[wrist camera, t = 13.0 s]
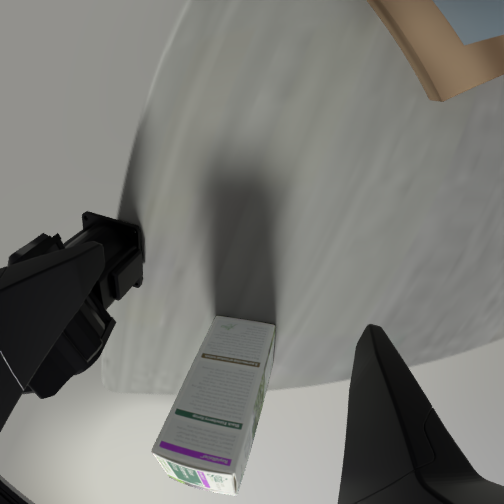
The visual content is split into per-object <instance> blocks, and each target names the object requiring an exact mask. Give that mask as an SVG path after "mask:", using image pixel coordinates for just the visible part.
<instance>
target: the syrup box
mask: <svg viewBox="0 0 504 504" xmlns="http://www.w3.org/2000/svg"><path fill="white" fill-rule="evenodd" d="M274 339H275V325H272V324H267V323H262V322H257V321H250V320H244V319H237V318H231V317H224V316H218V315H217V316H216V317H215V319H214V321H213V323H212V325H211V327H210V329H209V331H208V333H207V335H206V337H205V339H204V341H203V343H202V345H201V347H200V349H199V351H198V353H197V355H196V357H195V359H194V362H193V364H192V366H191V368H190V370H189V372H188V374H187V376H186V378H185V381H184V383H183V385H182V387H181V389H180V391H179V393H178V395H177V398H176V400H175V402H174V404H173V406H172V408H171V411H170V413H169V415H168V417H167V419H166V421H165V423H164V425H163V428H162V430H161V432H160V434H159V436H158V438H157V440H156V442H155V444H154V446H153V448H152V453H153V455H154V456H155V458H156V459H157V460H158V462H159V463H160V465H161V466H162V467H163V469H164V470H165V471H166V473H167V474H168V476H169V477H170V478H172V479H174V480H176V481H179V482H181V483H184V484H186V485H189V486H192V487H195V488H198V489H202V490H206V491H211V492H215V493H221V494H228V495H233V496H236V495H237V494H238V491H239V487H240V484H241V481H242V478H243V475H244V471H245V468H246V465H247V461H248V458H249V454H250V451H251V447H252V444H253V440H254V436H255V432H256V428H257V425H258V421H259V417H260V413H261V410H262V406H263V402H264V398H265V394H266V391H267V387H268V383H269V378H270V374H271V370H272V366H273V356H274Z"/></svg>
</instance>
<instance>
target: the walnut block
mask: <svg viewBox="0 0 504 504" xmlns="http://www.w3.org/2000/svg"><path fill="white" fill-rule="evenodd" d="M367 2H368V3H369V4H370V5H371V7H372V8H373V9H374V11H375V12H376V13H377V15H378V16H379V17H380V19H381V20H382V22H383V23H384V24H385V26H386V27H387V29H388V30H389V32H390V33H391V35H392V36H393V38H394V39H395V41H396V42H397V44H398V45H399V47H400V48H401V50H402V52H403V53H404V55H405V56H406V58H407V60H408V61H409V63H410V65H411V66H412V68H413V70H414V72H415V73H416V75H417V77H418V79H419V81H420V82H421V84H422V86H423V88H424V90H425V92H426V94H427V96H428V97H429V99H430V100H433V101H441V102H443V101H445V100H447V99H449V98H452V97H454V96H456V95H458V94H460V93H463V92H465V91H467V90H469V89H471V88H474V87H476V86H478V85H480V84H483V83H485V82H487V81H489V80H492V79H494V78H496V77H499V76H501V75H503V74H504V35H500V36H496V37H493V38H489V39H485V40H482V41H478V42H475V43H471V44H468V45H465V46H464V44H463V43H462V41H461V40H460V38H459V37H458V35H457V34H456V32H455V31H454V29H453V28H452V26H451V25H450V23H449V22H448V21H447V19H446V18H445V16H444V15H443V14H442V12H441V11H440V10H439V8H438V7H437V6H436V4H435V3H434V2H433V0H367Z"/></svg>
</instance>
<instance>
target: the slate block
mask: <svg viewBox="0 0 504 504" xmlns="http://www.w3.org/2000/svg"><path fill="white" fill-rule="evenodd" d="M433 2H434V3H435V4H436V6H437V7H438V8H439V10H440V11H441V12H442V14H443V15H444V16H445V18H446V19H447V21H448V22H449V23H450V25H451V26H452V28H453V29H454V31H455V32H456V34H457V35H458V37H459V38H460V40H461V41H462V43H463V44H464V46H465V45H468V44H471V43H475V42H478V41H482V40H485V39H489V38H493V37H496V36H500V35H504V0H433Z"/></svg>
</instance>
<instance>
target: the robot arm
mask: <svg viewBox="0 0 504 504" xmlns="http://www.w3.org/2000/svg"><path fill="white" fill-rule="evenodd" d="M82 221H83V230H82V231H80V232H79V233H77V234H76V235H75V236H73V237H72V238H70V239H69V240H68V241H66V242H65V243H64V244H63V243H62V241H61V237H60V235H59V234H58V233H57V234H56V235H55V236H53V237H51V236H48V235H46V234H44V233H43V234H41V235H40V236H38V237H37V238H36V239H34V240H33V241H31V242H30V243H28V244H27V245H25V246H24V247H22V248H20V249H19V250H18V251H16V252H15V253H13V254H12V255H11V256H10V257H9V261H8V267H3V268H0V432H1V430H2V428H3V426H4V425H5V423H6V421H7V419H8V417H9V416H10V414H11V412H12V410H13V408H14V407H15V405H16V403H17V402H18V400H19V398H20V397H21V395H22V394H29V393H35V394H37V396H38V397H39V398H41V399H44V398H47V397H51V396H53V395H55V394H56V393H57V392H58V391H59V389H61V387H62V386H63V385H64V384H65V383H66V382H67V381H68V380H69V379H70V378H71V377H72V376H73V375H77V374H80V373H82V372H84V371H85V370H86V369H88V368H89V367H90V366H91V365H92V364H93V363H94V362H95V361H96V360H97V359H98V358H99V356H100V355H101V353H102V351H103V349H104V347H105V345H106V342H107V340H108V338H109V336H110V334H111V332H112V330H113V328H114V326H115V324H116V321H115V320H114V319H113V317H111V316H110V315H109V313H108V312H107V311H106V309H107V308H108V307H109V306H110V305H111V304H112V303H113V302H114V300H118V301H119V300H120V299H121V298H122V297H123V296H124V295H125V294H126V293H127V292H128V291H129V289H130V288H131V287H132V286H133V287H136V288H139V287H140V286H141V285H142V275H143V265H142V251H141V230H140V228H139V227H138V226H136V225H133V224H130V223H126V222H123V221H120V220H116V219H112V218H109V217H105V216H102V215H98V214H95V213H92V212H88V211H87V212H85V213H83V214H82ZM134 230H135V232H136V233H135V232H134ZM0 504H35V503H33V502H32V501H31V500H29V499H28V498H27V497H26V496H24V495H23V494H22V493H20V492H19V491H18V490H17V489H16V488H15V487H13V486H12V485H11V484H9V482H7V481H6V480H5V479H4V478H3V477H2V476H1V475H0ZM338 504H504V486H501V485H499V484H496V483H493V482H490V481H488V480H486V479H484V478H483V477H481V476H480V475H479V474H478V473H477V472H476V471H475V470H474V468H473V467H472V466H471V464H470V463H469V461H468V460H467V458H466V457H465V455H464V454H463V453H462V451H461V450H460V448H459V447H458V445H457V444H456V443H455V441H454V440H453V438H452V437H451V435H450V434H449V432H448V431H447V429H446V428H445V426H444V425H443V423H442V421H441V420H440V418H439V417H438V415H437V413H436V412H435V410H434V408H432V405H431V403H430V402H429V400H428V398H427V397H426V395H425V394H424V392H423V390H422V389H421V387H420V386H419V384H418V382H417V381H416V379H415V378H414V376H413V375H412V373H411V371H410V370H409V368H408V367H407V365H406V364H405V362H404V360H403V359H402V357H401V356H400V354H399V353H398V351H397V350H396V348H395V347H394V345H393V344H392V342H391V341H390V339H389V338H388V336H387V335H386V333H385V332H384V330H383V329H382V328H381V327H380V326H377V325H373V324H369V325H367V327H366V328H365V330H364V332H363V334H362V335H361V337H360V339H359V341H358V343H357V346H356V350H355V357H354V364H353V370H352V376H351V383H350V389H349V401H348V417H347V429H346V440H345V450H344V459H343V468H342V476H341V484H340V491H339V498H338Z"/></svg>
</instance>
